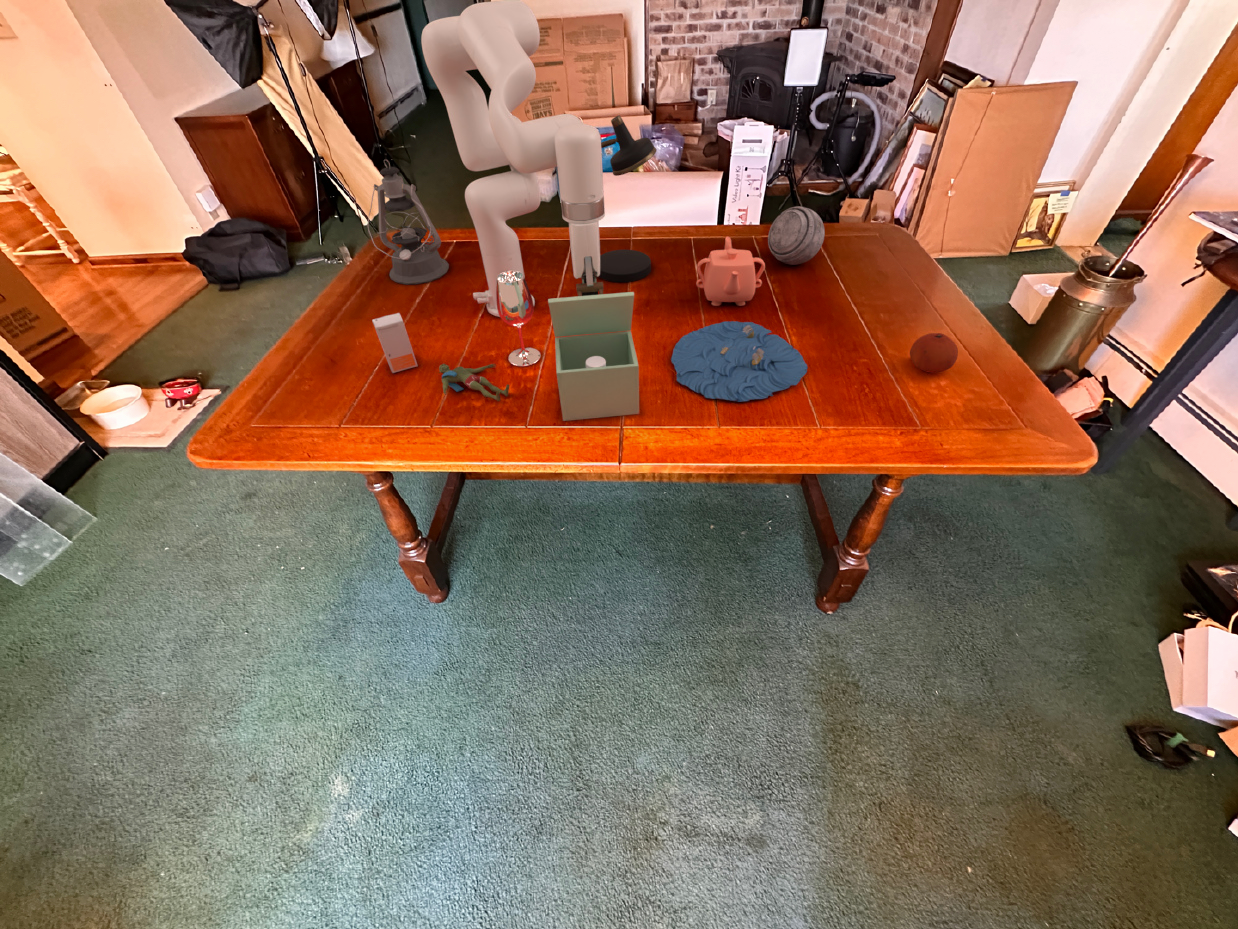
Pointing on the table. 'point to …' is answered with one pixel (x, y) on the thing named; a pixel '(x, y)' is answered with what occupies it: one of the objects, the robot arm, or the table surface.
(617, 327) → the lid
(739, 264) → the teapot
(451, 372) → the figurine
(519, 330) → the wineglass
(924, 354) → the fruit
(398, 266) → the lantern
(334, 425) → the table surface
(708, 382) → the blue flat rumpled sheet
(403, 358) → the cosmetic box
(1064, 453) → the table surface
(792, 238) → the decorative orb
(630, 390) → the chest
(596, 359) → the pill bottle
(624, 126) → the lamp
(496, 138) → the robot arm
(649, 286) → the table surface
